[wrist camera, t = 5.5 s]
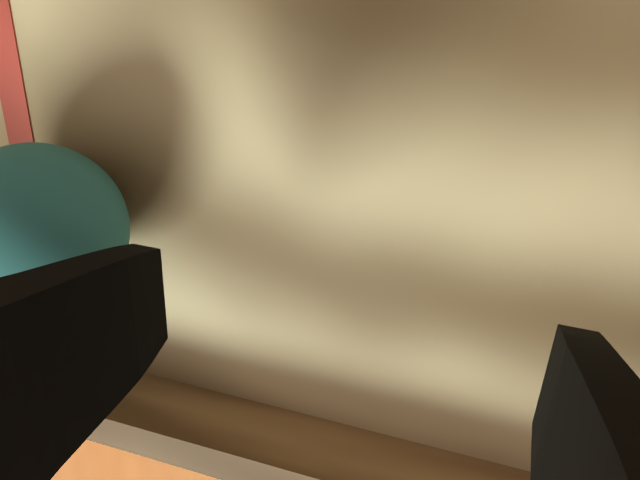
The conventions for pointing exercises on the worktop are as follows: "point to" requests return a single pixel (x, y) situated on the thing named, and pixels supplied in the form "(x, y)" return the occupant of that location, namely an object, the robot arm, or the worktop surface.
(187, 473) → the worktop surface
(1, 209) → the ball
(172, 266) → the lane
